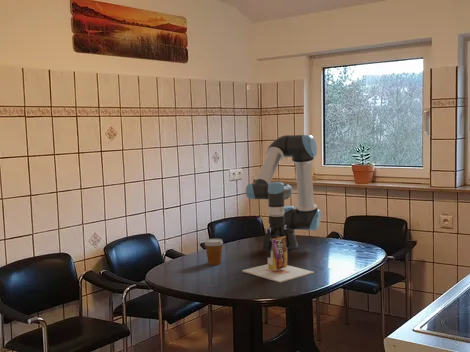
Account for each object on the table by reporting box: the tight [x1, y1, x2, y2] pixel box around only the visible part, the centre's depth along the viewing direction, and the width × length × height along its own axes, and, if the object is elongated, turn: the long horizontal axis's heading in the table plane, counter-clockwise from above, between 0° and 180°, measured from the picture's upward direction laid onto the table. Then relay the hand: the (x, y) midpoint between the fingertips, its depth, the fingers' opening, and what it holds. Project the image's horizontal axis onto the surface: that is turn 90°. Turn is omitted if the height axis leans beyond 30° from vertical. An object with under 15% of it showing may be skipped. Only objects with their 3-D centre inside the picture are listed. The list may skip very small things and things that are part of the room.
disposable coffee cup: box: [204, 238, 224, 266], centre depth 280 cm, size 10×10×12 cm
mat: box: [242, 263, 315, 283], centre depth 261 cm, size 26×22×1 cm
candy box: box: [267, 235, 288, 271], centre depth 260 cm, size 9×4×15 cm, turn 129°
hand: (277, 262), depth 260 cm, fingers closed on candy box, 9 cm apart
